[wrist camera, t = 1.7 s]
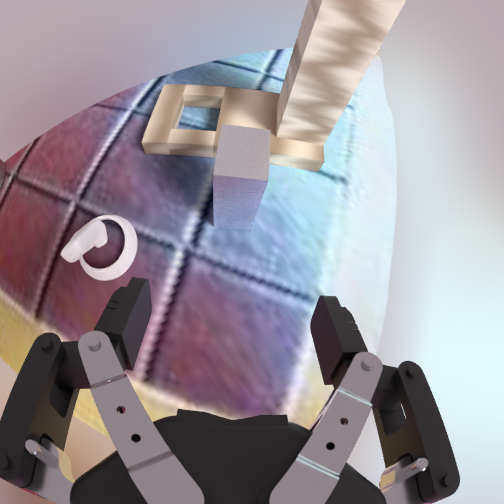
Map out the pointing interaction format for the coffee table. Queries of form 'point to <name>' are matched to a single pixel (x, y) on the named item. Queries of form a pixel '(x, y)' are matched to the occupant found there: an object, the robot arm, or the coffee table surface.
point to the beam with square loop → (286, 88)
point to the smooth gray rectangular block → (240, 175)
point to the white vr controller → (97, 237)
